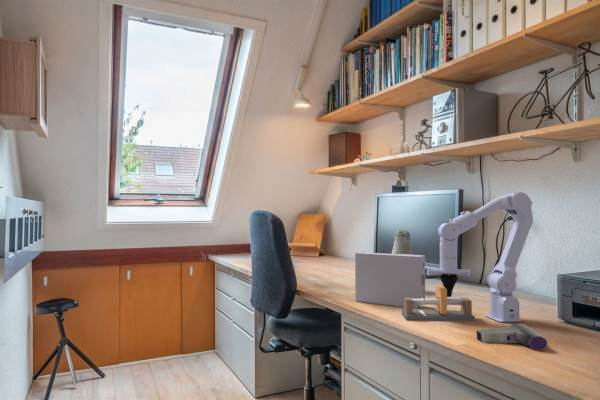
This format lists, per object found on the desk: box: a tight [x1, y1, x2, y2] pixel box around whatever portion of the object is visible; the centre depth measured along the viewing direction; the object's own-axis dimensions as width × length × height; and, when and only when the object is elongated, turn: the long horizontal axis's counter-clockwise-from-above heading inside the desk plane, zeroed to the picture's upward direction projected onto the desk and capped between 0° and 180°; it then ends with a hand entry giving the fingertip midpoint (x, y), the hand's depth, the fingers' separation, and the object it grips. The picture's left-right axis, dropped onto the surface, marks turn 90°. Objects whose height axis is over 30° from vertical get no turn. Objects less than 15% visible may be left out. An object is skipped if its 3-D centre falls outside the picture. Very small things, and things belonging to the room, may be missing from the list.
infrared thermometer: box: [476, 323, 548, 351], centre depth 121 cm, size 5×12×15 cm
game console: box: [354, 251, 426, 309], centre depth 173 cm, size 6×27×20 cm, turn 59°
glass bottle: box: [391, 229, 413, 255], centre depth 201 cm, size 10×10×28 cm
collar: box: [435, 284, 448, 314], centre depth 151 cm, size 2×7×9 cm, turn 177°
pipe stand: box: [401, 297, 476, 322], centre depth 151 cm, size 23×8×7 cm, turn 87°
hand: (448, 296), depth 151 cm, fingers closed
